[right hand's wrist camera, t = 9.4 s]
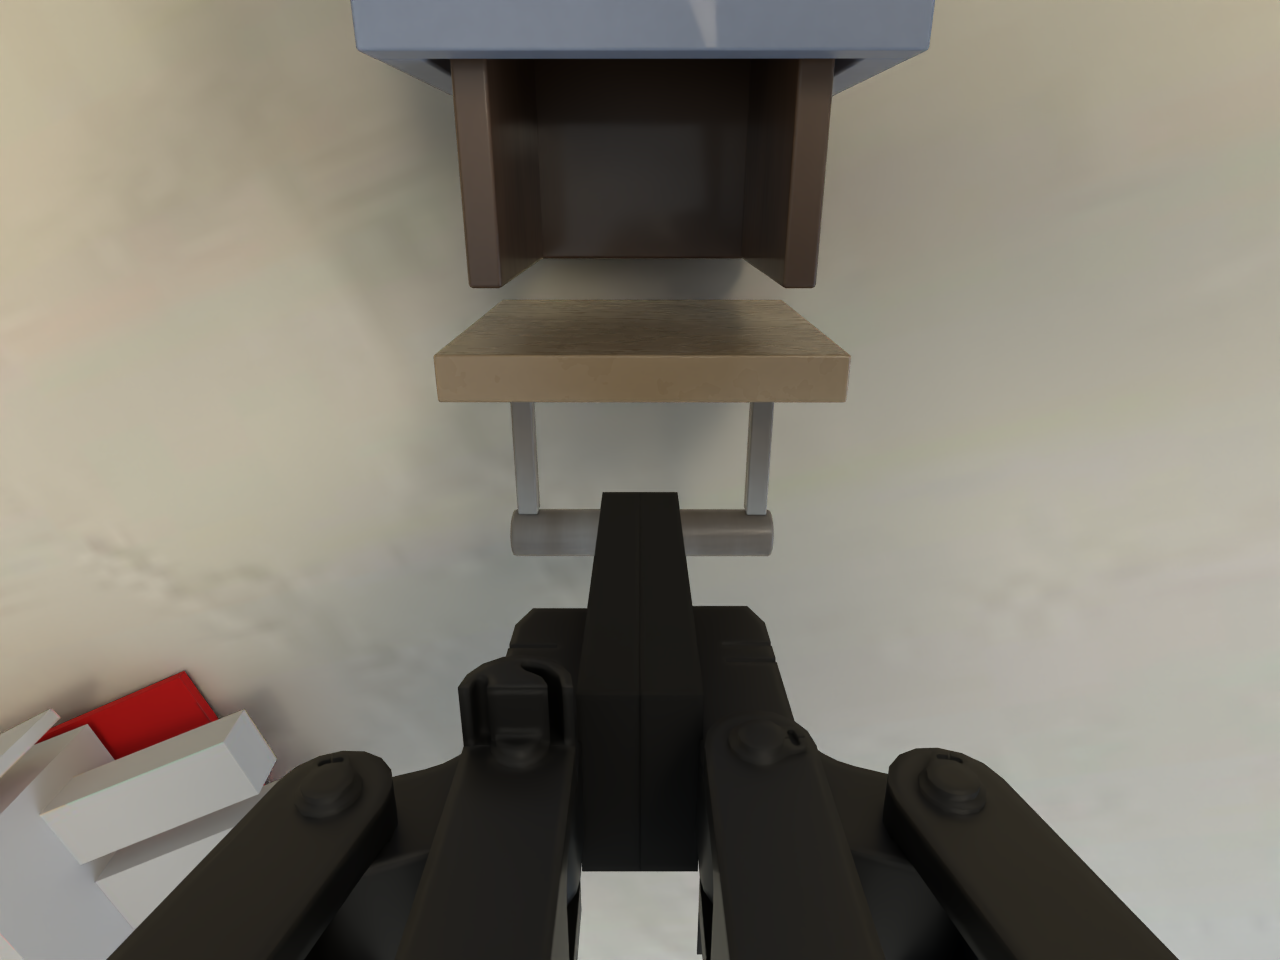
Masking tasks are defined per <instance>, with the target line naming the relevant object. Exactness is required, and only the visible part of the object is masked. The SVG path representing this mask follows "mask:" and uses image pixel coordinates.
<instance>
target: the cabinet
mask: <svg viewBox="0 0 1280 960" xmlns="http://www.w3.org/2000/svg"><path fill="white" fill-rule="evenodd" d="M934 4H935V0H351V8H352V16H353V24H354V32H355V40H356V48H357V50H358V51H360V52H362V53H364V54H366V55H369V56H371V57H373V58H375V59H378V60H380V61H382V62H384V63H386V64H388V65H390V66H392V67H394V68H396V69H398V70H400V71H402V72H405V73H407V74H409V75H411V76H413V77H415V78H417V79H419V80H421V81H423V82H425V83H427V84H429V85H431V86H433V87H435V88H437V89H439V90H441V91H444V92H446V93H448V94H450V95H452V96H453V89H452V77H451V66H450V59H770V58H835V66H834V77H833V89H832V96H833V95H835V94H837V93H840V92H842V91H844V90H846V89H848V88H850V87H852V86H854V85H856V84H858V83H860V82H862V81H864V80H866V79H868V78H870V77H872V76H875V75H877V74H879V73H881V72H883V71H885V70H887V69H889V68H891V67H893V66H895V65H897V64H899V63H901V62H903V61H905V60H907V59H909V58H912V57H914V56H916V55H918V54H920V53H922V52H924V51H926V50H928V48H929V44H930V36H931V28H932V20H933V12H934Z"/></svg>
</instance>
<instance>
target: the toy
mask: <svg viewBox="0 0 1280 960" xmlns="http://www.w3.org/2000/svg"><path fill="white" fill-rule="evenodd" d="M60 718H61V717H60V716H59V715H58V714H57V713H56V712H55V711H54V710H53V709H52V708H51V709H49V710H47V711H45V712H43V713H41V714H39V715H37V716H35V717H33V718H31V719H29V720H27V721H25V722H23V723H21V724H19V725H17V726H16V727H14V728H12V729H10V730H8V731H6V732H4V733H2V734H0V960H106V959H107V958H108V957H109V956H110V955H111V954H112V953H113V952H114V951H115V950H116V949H117V948H118V947H119V946H120V945H121V944H122V943H123V942H124V941H125V940H126V938H127V937H128V936H129V935H130V934H131V933H132V932H133V931H134V930H135V929H136V928H137V927H138V926H139V925H140V924H141V923H142V922H143V921H144V920H145V919H146V918H147V917H148V916H149V915H150V914H151V913H152V912H153V910H154V909H155V908H156V907H157V906H158V905H159V904H160V903H161V902H162V901H163V900H164V899H165V898H166V897H167V896H168V895H169V894H170V893H171V892H172V891H173V890H174V889H175V888H176V887H177V886H178V885H179V883H180V882H181V881H182V880H183V879H184V878H185V877H186V876H187V875H188V874H189V873H190V872H191V871H192V870H193V869H194V868H195V867H196V866H197V865H198V864H199V863H200V862H201V861H202V860H203V859H204V858H205V857H206V855H207V854H208V853H209V852H210V851H211V850H212V849H213V848H214V847H215V846H216V845H217V844H218V843H219V842H220V841H221V840H222V839H223V838H224V837H225V836H226V835H227V834H228V833H229V832H230V831H231V830H232V829H233V827H234V826H235V825H236V824H237V823H238V822H239V821H240V820H241V819H242V818H243V817H244V816H245V815H246V814H247V813H248V812H249V811H250V810H251V809H252V808H253V807H254V806H255V805H256V804H257V803H258V802H259V801H260V799H261V798H262V797H263V796H264V795H265V794H266V793H267V792H268V791H269V790H270V789H271V788H272V787H273V786H274V785H275V784H276V783H277V782H278V781H279V780H280V779H279V780H277V781H274V782H272V783H269V784H267V785H265V781H266V779H267V777H268V775H269V773H270V771H271V770H272V768H273V766H274V764H275V762H276V760H277V758H276V756H275V755H274V753H273V752H272V750H271V749H270V747H269V745H268V744H267V742H266V741H265V739H264V738H263V736H262V735H261V733H260V732H259V730H258V729H257V727H256V726H255V724H254V723H253V721H252V720H251V718H250V717H249V715H248V714H247V712H246V711H245V709H243V710H241V711H238V712H236V713H233V714H231V715H228V716H226V717H223V718H221V719H218V717H217V716H216V715H215V713H214V712H213V710H212V709H211V708H210V706H209V705H208V703H207V702H206V701H205V699H204V698H203V696H202V695H201V694H200V692H199V691H198V689H197V688H196V687H195V685H194V684H193V682H192V681H191V680H190V678H189V677H188V675H187V674H186V673H185V671H183V672H180V673H178V674H176V675H173V676H171V677H169V678H166V679H164V680H162V681H159V682H157V683H155V684H152V685H150V686H148V687H145V688H143V689H141V690H139V691H136V692H134V693H132V694H129V695H127V696H125V697H122V698H120V699H118V700H115V701H113V702H111V703H108V704H106V705H104V706H101V707H99V708H97V709H94V710H92V711H90V712H87V713H85V714H83V715H80V716H78V717H76V718H73V719H71V720H69V721H66V722H64V723H62V724H59V725H57V726H55V727H53V728H51V727H52V726H53V725H54V724H55V723H56V722H57V721H58V720H59V719H60Z"/></svg>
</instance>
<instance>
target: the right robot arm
mask: <svg viewBox="0 0 1280 960" xmlns="http://www.w3.org/2000/svg"><path fill="white" fill-rule="evenodd" d="M458 694H459V703H460V713H461V723H462V733H463V743H464V747H463V750H462V753H461V754H460V755H459V756H457V757H455V758H453V759H451V760H449V761H447V762H445V763H443V764H440V765H437V766H434V767H431V768H428V769H424V770H420V771H416V772H412V773H407V774H403V775H399V776H395V777H392V772H391V769H390V768H389V766H388V765H387V764H386V763H385V762H384V761H383V759H382V758H380V757H378V756H375V755H372V754H370V753H367V752H364V751H340V752H336V753H331V754H327V755H322V756H319V757H316V758H314V759H312V760H310V761H308V762H306V763H304V764H301V765H299V766H297V767H296V768H294V769H293V770H292V771H291V772H289V773H288V774H287V775H286V776H284V777H283V778H282V779H280V780H279V781H278V782H277V783H276V784H275V785H274V786H273V787H272V788H271V789H270V790H269V791H268V792H267V793H266V794H265V795H264V796H263V797H262V798H261V799H260V801H259V802H258V803H257V804H256V805H255V806H254V807H253V808H252V809H251V810H250V811H249V812H248V813H247V814H246V815H245V816H244V817H243V818H242V819H241V820H240V821H239V822H238V823H237V824H236V825H235V826H234V827H233V829H232V830H231V831H230V832H229V833H228V834H227V835H226V836H225V837H224V838H223V839H222V840H221V841H220V842H219V843H218V844H217V845H216V846H215V847H214V848H213V849H212V850H211V851H210V852H209V853H208V854H207V855H206V857H205V858H204V859H203V860H202V861H201V862H200V863H199V864H198V865H197V866H196V867H195V868H194V869H193V870H192V871H191V872H190V873H189V874H188V875H187V876H186V877H185V878H184V879H183V880H182V881H181V882H180V883H179V885H178V886H177V887H176V888H175V889H174V890H173V891H172V892H171V893H170V894H169V895H168V896H167V897H166V898H165V899H164V900H163V901H162V902H161V903H160V904H159V905H158V906H157V907H156V908H155V909H154V910H153V912H152V913H151V914H150V915H149V916H148V917H147V918H146V919H145V920H144V921H143V922H142V923H141V924H140V925H139V926H138V927H137V928H136V929H135V930H134V931H133V932H132V933H131V934H130V935H129V936H128V937H127V938H126V940H125V941H124V942H123V943H122V944H121V945H120V946H119V947H118V948H117V949H116V950H115V951H114V952H113V953H112V954H111V955H110V956H109V957H108V958H107V959H106V960H577V958H578V945H579V933H580V921H581V887H580V876H581V865H582V871H698V861H699V873H700V887H699V913H698V940H697V954H702V957H703V960H1179V959H1178V958H1177V957H1176V956H1175V955H1174V954H1173V953H1172V952H1171V951H1170V950H1169V949H1168V948H1167V947H1166V946H1165V945H1164V944H1163V943H1162V942H1161V941H1160V940H1159V939H1158V938H1157V937H1156V936H1155V935H1154V934H1153V933H1152V932H1151V930H1150V929H1149V928H1148V927H1147V926H1146V925H1145V924H1144V923H1143V922H1142V921H1141V920H1140V919H1139V918H1138V917H1137V916H1136V915H1135V914H1134V913H1133V912H1132V911H1131V910H1130V909H1129V908H1128V907H1127V906H1126V905H1125V904H1124V903H1123V902H1122V901H1121V900H1120V899H1119V898H1118V896H1117V895H1116V894H1115V893H1114V892H1113V891H1112V890H1111V889H1110V888H1109V887H1108V886H1107V885H1106V884H1105V883H1104V882H1103V881H1102V880H1101V879H1100V878H1099V877H1098V876H1097V875H1096V874H1095V873H1094V872H1093V871H1092V870H1091V869H1090V868H1089V867H1088V866H1087V865H1086V864H1085V862H1084V861H1083V860H1082V859H1081V858H1080V857H1079V856H1078V855H1077V854H1076V853H1075V852H1074V851H1073V850H1072V849H1071V848H1070V847H1069V846H1068V845H1067V844H1066V843H1065V842H1064V841H1063V840H1062V839H1061V838H1060V837H1059V836H1058V835H1057V834H1056V833H1055V832H1054V831H1053V830H1052V828H1051V827H1050V826H1049V825H1048V824H1047V823H1046V822H1045V821H1044V820H1043V819H1042V818H1041V817H1040V816H1039V815H1038V814H1037V813H1036V812H1035V811H1034V810H1033V809H1032V808H1031V807H1030V806H1029V805H1028V804H1027V803H1026V802H1025V801H1024V800H1023V799H1022V798H1021V797H1020V796H1019V794H1018V793H1017V792H1016V791H1015V790H1014V789H1013V788H1012V787H1011V786H1010V785H1009V784H1008V783H1007V782H1006V781H1005V780H1004V779H1003V778H1002V777H1000V776H999V775H998V774H997V773H995V772H994V771H993V770H991V769H990V768H989V767H988V766H986V765H985V764H984V763H982V762H979V761H977V760H975V759H973V758H971V757H969V756H966V755H964V754H962V753H959V752H954V751H950V750H945V749H941V748H916V749H913V750H911V751H908V752H905V753H903V754H900V755H899V756H898V757H897V758H896V759H895V760H894V762H893V763H892V764H891V765H890V766H889V772H888V774H885V773H881V772H877V771H872V770H868V769H864V768H860V767H855V766H852V765H849V764H846V763H843V762H839V761H837V760H835V759H833V758H831V757H829V756H827V755H825V754H823V753H821V752H820V751H818V749H817V746H816V744H815V743H814V741H813V739H812V738H811V736H810V734H809V733H808V731H807V730H805V729H804V728H803V727H801V726H800V725H799V724H797V723H796V722H795V721H794V718H793V715H792V711H791V708H790V705H789V701H788V698H787V695H786V692H785V688H784V685H783V682H782V678H781V675H780V672H779V668H778V665H777V662H776V661H775V655H774V652H773V648H772V646H771V642H770V639H769V635H768V632H767V629H766V625H765V623H764V622H763V621H762V620H761V619H760V618H759V617H758V616H757V615H756V614H755V613H754V612H753V611H752V610H751V609H750V608H749V607H747V606H692V600H691V592H690V585H689V577H688V569H687V562H686V554H685V547H684V539H683V532H682V524H681V516H680V509H679V501H678V494H677V492H603V494H602V501H601V509H600V516H599V524H598V532H597V539H596V547H595V554H594V562H593V569H592V577H591V585H590V592H589V600H588V607H587V608H533V609H532V610H531V611H530V612H529V613H528V614H527V615H526V616H524V617H523V618H522V619H521V620H520V621H519V622H518V623H517V624H516V625H515V628H514V631H513V635H512V638H511V641H510V648H508V651H507V655H506V657H501V658H499V659H496V660H493V661H490V662H487V663H484V664H482V665H480V666H479V667H477V668H476V669H474V670H473V671H471V672H470V673H469V674H467V675H466V677H465V678H464V680H463V681H462V682H461V684H460V685H459V687H458Z"/></svg>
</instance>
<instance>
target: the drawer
mask: <svg viewBox="0 0 1280 960" xmlns="http://www.w3.org/2000/svg"><path fill="white" fill-rule="evenodd" d="M450 66H451V77H452V89H453V101H454V113H455V125H456V137H457V149H458V161H459V173H460V185H461V197H462V209H463V221H464V233H465V245H466V256H467V268H468V280H469V286H470V287H471V288H500V287H502V286H503V285H505V284H506V283H508V282H509V281H511V280H512V279H513V278H515V277H516V276H518V275H519V274H521V273H522V272H523V271H525V270H526V269H528V268H529V267H531V266H532V265H533V264H535V263H536V262H538V261H539V260H541V259H542V258H743V259H744V260H745V261H747V262H748V263H750V264H751V265H753V266H754V267H755V268H757V269H758V270H760V271H761V272H763V273H764V274H766V275H767V276H768V277H770V278H771V279H773V280H774V281H776V282H777V283H778V284H780V285H781V286H783V287H785V288H813V287H815V285H816V276H817V264H818V253H819V241H820V229H821V218H822V206H823V194H824V183H825V171H826V159H827V148H828V136H829V124H830V113H831V101H832V89H833V77H834V66H835V58H770V59H450ZM850 362H851V356H850V355H849V354H848V353H847V352H846V351H844V350H843V349H842V348H841V347H839V346H838V345H837V344H836V343H834V342H833V341H832V340H831V339H829V338H828V337H827V336H826V335H824V334H823V333H822V332H821V331H819V330H818V329H817V328H816V327H814V326H813V325H812V324H811V323H809V322H808V321H807V320H806V319H804V318H803V317H802V316H801V315H800V314H798V313H797V312H796V311H795V310H793V309H792V308H791V307H790V306H788V305H787V304H786V303H785V302H783V301H782V300H502V301H501V302H500V303H499V304H497V305H496V306H495V307H494V308H492V309H491V310H490V311H489V312H487V313H486V314H485V315H484V316H482V317H481V318H480V319H479V320H477V321H476V322H475V323H474V324H472V325H471V326H470V327H469V328H467V329H466V330H465V331H464V332H462V333H461V334H460V335H459V336H457V337H456V338H455V339H454V340H453V341H451V342H450V343H449V344H448V345H446V346H445V347H444V348H443V349H441V350H440V351H439V352H438V353H436V354H435V355H434V366H435V375H436V385H437V394H438V400H439V402H511V417H512V431H513V446H514V461H515V476H516V491H517V506H518V509H516V510H514V512H513V515H512V520H511V533H510V534H511V548H512V551H513V554H514V555H516V556H594V554H595V547H596V539H597V532H598V524H599V516H600V509H539V507H540V497H539V479H538V461H537V442H536V424H535V406H534V402H750V410H749V427H748V445H747V462H746V480H745V498H744V508H745V509H680V516H681V524H682V532H683V539H684V547H685V554H686V556H769V555H770V554H771V552H772V548H773V539H774V529H773V519H772V515H771V512H770V511H769V510H767V496H768V481H769V467H770V452H771V438H772V423H773V409H774V402H846V400H847V390H848V381H849V372H850Z"/></svg>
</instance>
